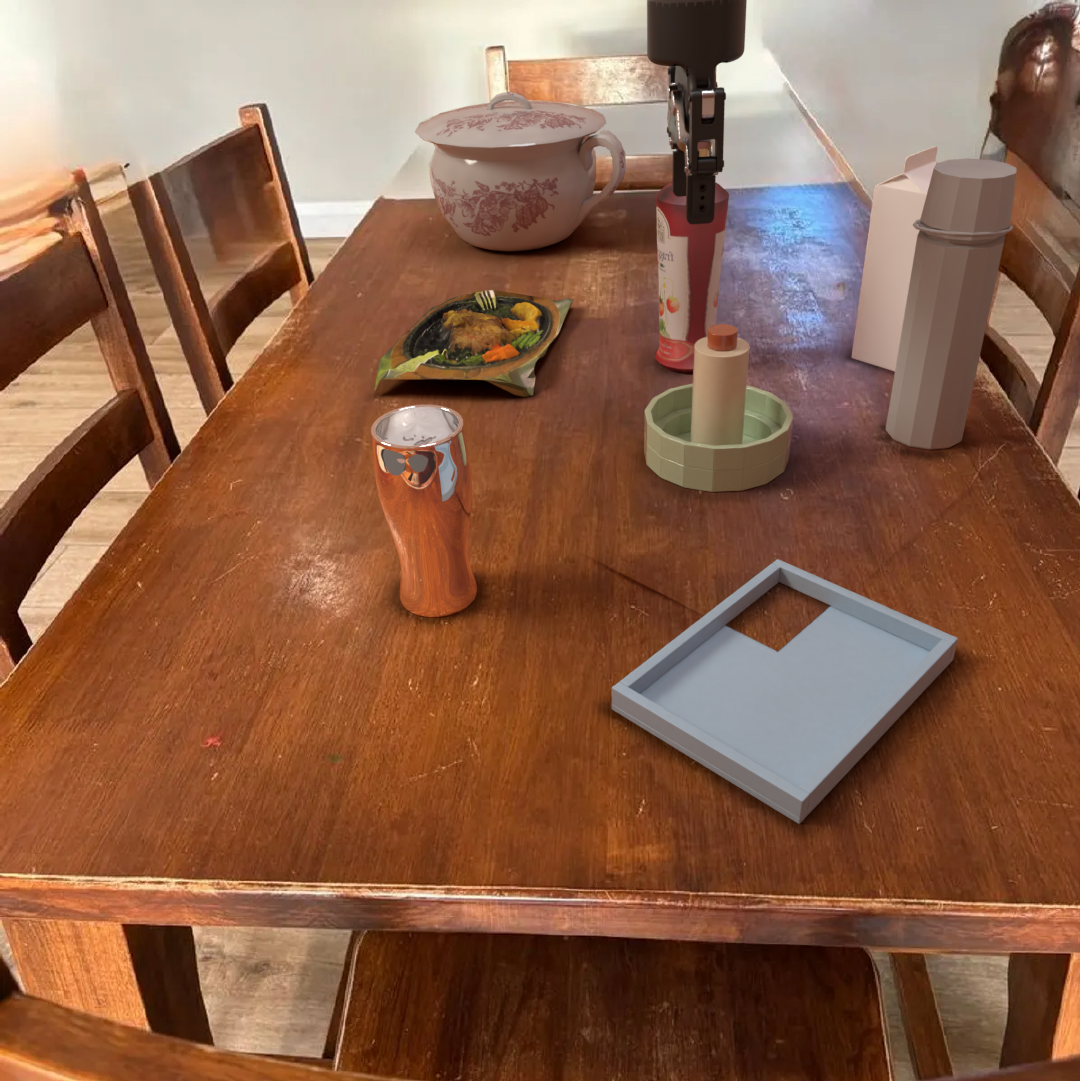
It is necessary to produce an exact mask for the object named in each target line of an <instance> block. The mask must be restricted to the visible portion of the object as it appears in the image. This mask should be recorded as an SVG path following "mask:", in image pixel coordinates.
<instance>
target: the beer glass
mask: <svg viewBox="0 0 1080 1081" xmlns="http://www.w3.org/2000/svg"><path fill="white" fill-rule="evenodd" d="M370 434H371V443H372V444H371V445H372V459H373V460H372V461H373V469H374V470H373V472H374V480H375V485H376V491H377V496H378V500H379V503H380V507H381V509H382V513H383V516H384V519H385V521H386V524H387V527H388V530H389V532H390V535H391V537H392V540H393V543H394V546H395V548H396V552H397V554H398V560H399V565H400V579H399V580H400V581H399V600H400V602H401V605H402V606H403V607H404V609H406V610H407V611H408V612H410V613H412V614H413V615H416V616H420V617H425V618H443V617H447V616H451V615H455V614H457V613H459V612H462V611H463V610H465V609H466V608H467V607H469V606H470V605H471V604H472V603H473V602H474V601H475V598H476V596H477V593H478V586H477V581H476V578H475V575H474V572H473V569H472V566H471V562H470V557H469V533H470V525H471V514H472V504H473V503H472V502H473V478H472V476H473V475H472V466H471V459H470V452H469V447H468V442H467V436H466V432H465V424H464V419H463V416H462V415H461V414H460V413H459V412H458V411H456V410H454V409H453V408H450V407H447V406H443V405H437V404H427V403H426V404H412V405H407V406H402V407H398V408H395V409H392V410H389V411H388V412H386V413H383V414H382V415H380V416H379V417H378V418H377V419H376V420H375V421H374V422H373V423H372V425H371V427H370Z"/></svg>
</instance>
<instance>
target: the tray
mask: <svg viewBox="0 0 1080 1081" xmlns="http://www.w3.org/2000/svg"><path fill="white" fill-rule="evenodd" d="M779 583H780V584H782V585H785V586H787V587H789V588H791V589H793V590H795V591H798V592H799V593H802V594H804V595H807V596H809V597H811V598H813V599H815V600H818V601H820V602H822V603H824V604H827V605H829V606H828V607H827V608H826V609H824V611H822V612H821V613H820V614H819V615H818V616H817V617H815V619H813V620H812V621H811V622H810V623H809V624H807V625H806V626H805V627H804V628H803V629H802V630H800V631H799V632H798V633H797V634H796V635H794V637H792V638H791V639H790V640H789V641H788V642H787V643H786V644H784V645H783V646H782V647H781V648H780V649H779V650H776V649H774V648H773V647H772V648H771V647H770V646H768V645H766V644H764V643H762V642H760V641H758V640H756V639H754V638H753V637H750V636H749V635H747V634H744V633H742V632H740V631H738V630H736V629H734V628H732V627H730V626H728V625H727V624H729V623H730V622H731V621H732V620H734V619H735V618H736V617H737V616H739V615H740V614H741V613H742V612H744V611H745V610H746V609H747V608H749V607H750V606H751V605H752V604H754V603H755V602H756V601H757V600H759V599H760V598H761V597H762V596H764V595H765V594H766V593H767V592H769V591H770V590H771V589H772V588H773V587H775V586H776V585H777V584H779ZM958 641H959V638H958V637H956V636H954V635H952V634H949V633H948V632H946V631H942V630H940V629H938V628H936V627H935V626H931V625H929V624H926V623H925V622H922V621H921V620H917V619H915V618H913V617H912V616H911V617H910V616H909V615H906V614H904V613H902V612H899V611H897V610H896V609H893V608H890V607H888V606H886V605H884V604H881V603H879V602H877V601H874V600H872V599H870V598H868V597H866V596H863V595H861V594H858V593H857V592H854V591H852V590H850V589H847V588H845V587H843V586H840V585H838V584H836V583H833V582H831V581H829V580H827V579H824V578H822V577H821V576H817V575H816V574H813V573H810V572H809V571H806V570H804V569H801V568H799V567H797V566H794V565H793V564H790V563H788V562H785V561H784V560H781V559H779V558H777V559H776V560H774V561H773V562H771V563H770V564H768V565H767V567H765V568H764V569H762V570H761V571H760V572H759V573H757V574H756V575H755V576H754V577H752V578H751V579H750V580H748V581H747V582H746V583H744V584H743V585H742V586H740V587H739V588H738V589H737V590H736V591H734V592H733V593H731V594H730V595H728V597H727V598H725V599H724V600H722V601H721V602H720V603H718V604H717V605H716V606H715V607H714V608H712V609H710V610H709V611H708V612H707V613H705V614H704V615H703V616H702V617H701V618H700V619H698V620H697V621H695V622H694V623H693V624H691V625H690V626H689V627H688V628H686V629H685V630H684V631H683V632H681V633H680V634H679V635H677V636H676V637H675V638H673V639H672V640H671V641H670V642H668V643H667V644H665V645H664V646H663V647H662V648H660V649H659V650H658V651H656V653H654V654H652V656H650V657H649V658H648V659H647V660H645V661H644V662H642V663H641V664H640V665H639V666H637V667H636V668H635V669H633V670H632V671H630V672H629V673H628V674H627V675H625V677H623V678H622V679H620V680H619V681H618V682H617V683H616V684H615V685H613V686H612V687H611V710H612V711H614V712H615V713H617V714H619V715H620V716H622V717H624V718H625V719H627V720H629V721H630V722H631V723H633V724H635V725H637V726H638V727H640V728H641V729H643V730H645V731H646V732H648V733H649V734H651V735H653V736H655V737H657V739H659V740H661V741H663V742H665V744H667V745H668V746H671V747H673V748H674V749H675V750H677V751H679V752H681V753H682V754H684V755H686V756H687V757H689V758H690V759H692V760H694V761H695V762H697V763H698V764H700V765H702V766H703V767H705V768H706V769H709V770H710V771H711V772H713V773H715V774H717V775H718V776H720V777H721V778H723V779H724V780H726V781H728V782H730V783H731V784H733V785H734V786H736V787H738V788H739V789H742V791H744V792H745V793H747V794H748V795H751V796H752V797H754V798H755V799H757V800H758V801H761V802H762V803H764V804H766V805H767V806H768V807H770V808H771V809H773V810H775V811H777V812H779V813H780V814H782V815H783V816H785V817H787V818H789V819H790V820H791V821H793V822H794V823H797V824H798V825H800V824H802V822H803V821H804V820H805V819H806V818H807V817H808V815H810V813H811V812H812V811H813V810H814V809H816V807H817V806H818V805H819V804H820V803H821V802H822V801H823V800H824V799H825V797H826V796H827V795H828V794H829V793H830V792H831V791H832V790H833V789H834V788H835V787H836V786H837V785H838V784H839V782H840V781H841V780H842V779H843V778H844V777H845V776H846V775H847V774H848V773H849V772H850V771H851V770H852V769H853V768H854V767H855V765H856V764H857V763H858V762H859V761H860V760H861V759H862V758H863V757H864V756H865V755H866V754H867V752H869V751H870V750H871V748H872V747H873V746H874V745H875V744H876V743H877V742H878V741H879V740H880V739H881V737H882V736H884V734H886V732H887V731H888V730H889V729H890V728H891V727H892V726H893V725H894V724H895V723H896V721H898V720H899V718H900V717H901V716H902V715H903V714H904V713H905V712H906V711H907V710H908V709H909V708H910V707H911V706H912V704H914V703H915V701H916V700H917V699H918V698H919V697H920V696H921V695H922V694H923V693H924V692H925V691H926V690H927V689H928V688H929V687H930V685H931V684H932V683H933V682H934V681H935V680H936V679H937V678H938V677H939V676H940V675H941V674H942V672H943V671H945V669H946V668H947V667H948V666H949V665H950V664H951V663H952V662H953V661H954V659H955V653H956V650H957V644H958Z"/></svg>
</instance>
